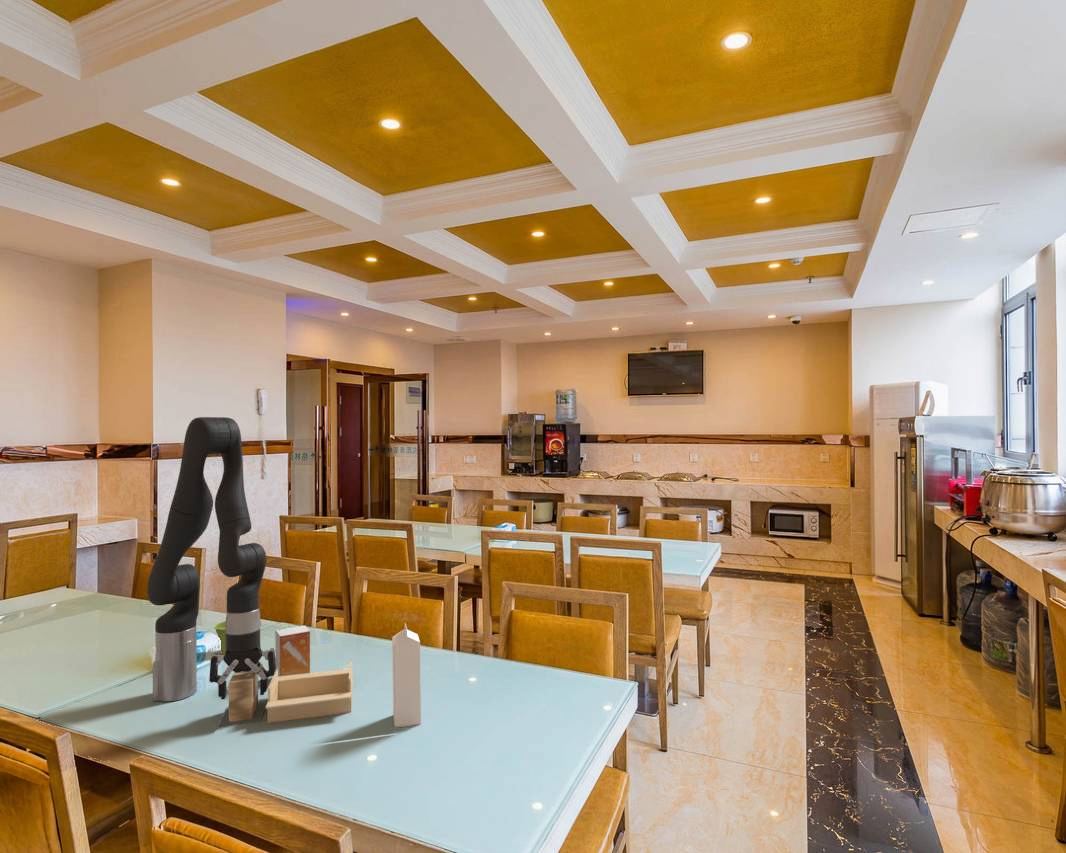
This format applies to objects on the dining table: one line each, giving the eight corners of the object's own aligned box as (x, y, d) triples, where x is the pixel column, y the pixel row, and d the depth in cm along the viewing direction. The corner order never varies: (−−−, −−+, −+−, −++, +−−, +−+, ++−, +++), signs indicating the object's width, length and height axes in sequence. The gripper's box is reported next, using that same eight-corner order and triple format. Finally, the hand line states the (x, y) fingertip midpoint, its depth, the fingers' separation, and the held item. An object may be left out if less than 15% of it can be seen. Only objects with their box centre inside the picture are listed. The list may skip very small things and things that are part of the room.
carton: (265, 729, 138) (265, 694, 138) (277, 696, 155) (277, 664, 155) (350, 718, 143) (350, 684, 143) (353, 687, 160) (352, 657, 160)
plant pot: (238, 657, 183) (238, 628, 183) (208, 657, 183) (208, 628, 183) (253, 646, 193) (253, 619, 193) (224, 646, 193) (224, 619, 193)
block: (228, 721, 140) (228, 682, 140) (236, 706, 148) (235, 670, 148) (252, 718, 142) (251, 680, 142) (258, 704, 149) (257, 667, 149)
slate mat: (218, 728, 138) (218, 725, 138) (228, 707, 149) (228, 705, 149) (260, 723, 141) (260, 720, 141) (268, 703, 151) (268, 700, 151)
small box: (279, 684, 162) (279, 636, 163) (275, 677, 168) (274, 630, 168) (310, 677, 167) (310, 630, 167) (305, 670, 172) (305, 624, 172)
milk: (394, 728, 137) (392, 631, 138) (393, 716, 143) (391, 623, 143) (421, 724, 139) (420, 628, 139) (419, 712, 145) (417, 620, 145)
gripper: (206, 636, 140) (206, 706, 139) (272, 630, 143) (272, 699, 143) (214, 626, 147) (214, 693, 147) (277, 620, 151) (277, 686, 150)
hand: (243, 696), depth 145 cm, fingers open, 8 cm apart
